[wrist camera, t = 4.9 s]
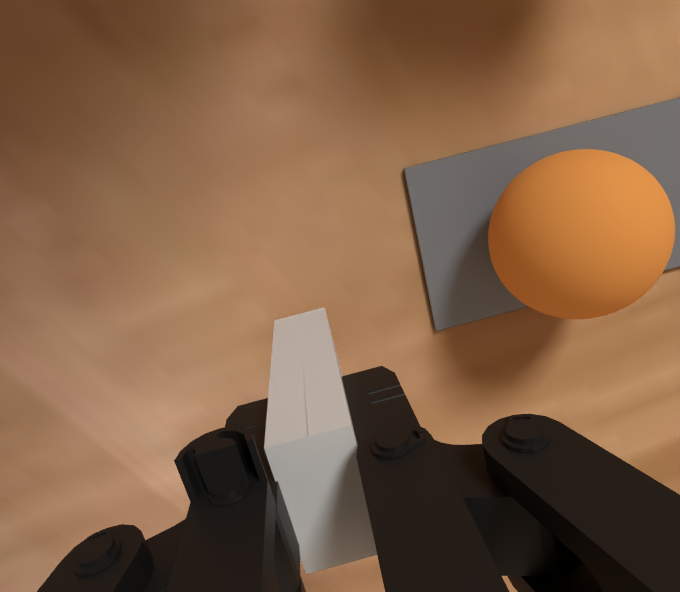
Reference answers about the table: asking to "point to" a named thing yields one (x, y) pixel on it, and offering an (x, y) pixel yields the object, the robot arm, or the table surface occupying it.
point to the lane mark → (491, 180)
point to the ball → (581, 234)
